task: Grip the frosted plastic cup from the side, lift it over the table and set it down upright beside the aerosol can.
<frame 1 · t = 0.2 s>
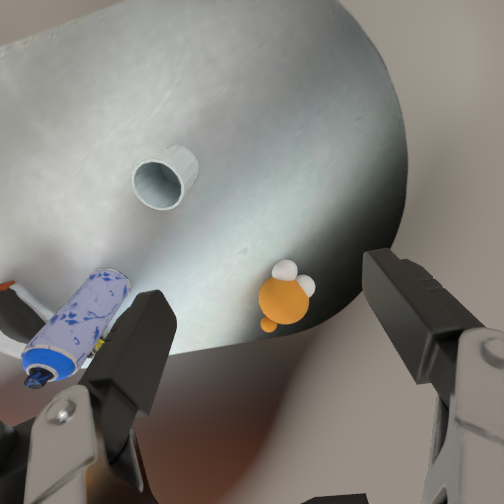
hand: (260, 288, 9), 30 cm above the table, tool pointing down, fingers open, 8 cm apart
toy car: (90, 344, 57), on the table
toy: (275, 284, 48), on the table
plastic cup: (179, 166, 35), on the table
figurine: (35, 306, 50), on the table
aerosol can: (111, 283, 47), on the table
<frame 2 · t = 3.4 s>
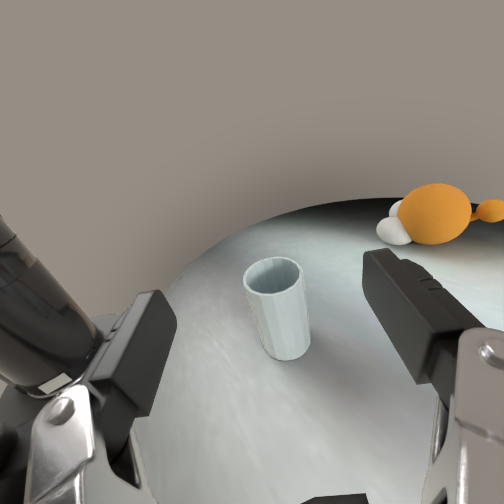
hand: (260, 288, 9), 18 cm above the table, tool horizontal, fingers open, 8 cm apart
toy: (430, 243, 37), on the table
plastic cup: (286, 338, 28), on the table
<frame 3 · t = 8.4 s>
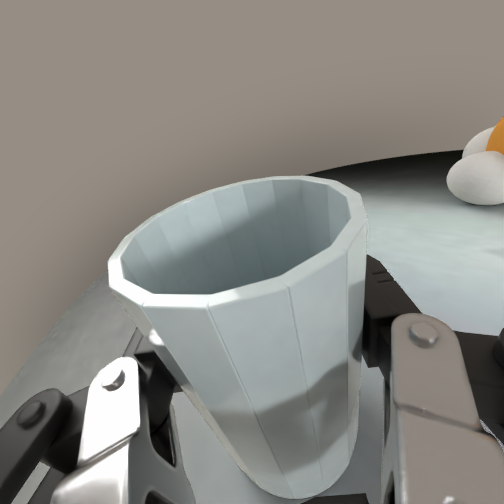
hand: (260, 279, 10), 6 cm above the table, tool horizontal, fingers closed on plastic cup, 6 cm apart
plastic cup: (288, 410, 11), on the table, touching gripper
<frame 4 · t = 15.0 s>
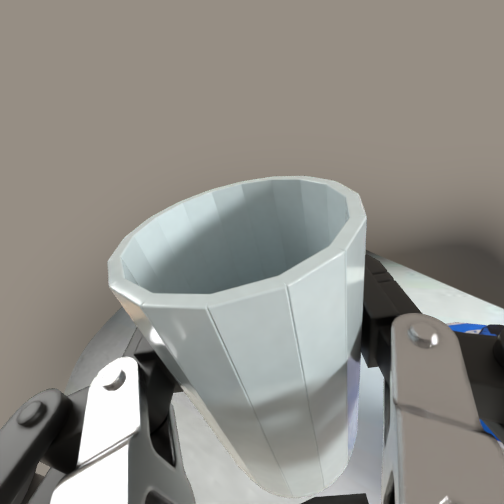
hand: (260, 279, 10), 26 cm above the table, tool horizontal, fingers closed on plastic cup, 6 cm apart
plastic cup: (288, 410, 11), point 20 cm above the table, touching gripper
aerosol can: (430, 470, 22), on the table
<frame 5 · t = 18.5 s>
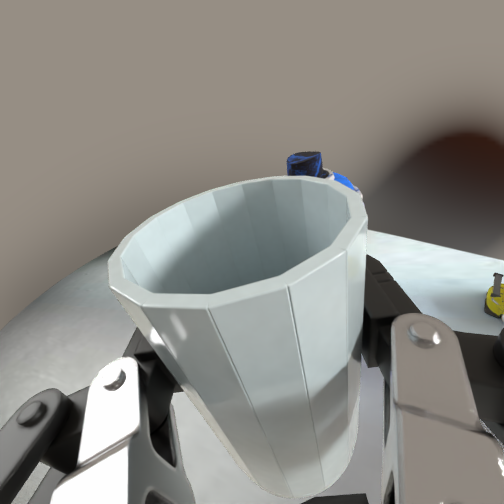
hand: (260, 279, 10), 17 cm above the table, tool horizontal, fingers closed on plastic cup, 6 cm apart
plastic cup: (288, 410, 11), point 11 cm above the table, touching gripper
aerosol can: (321, 344, 26), on the table
when the fingers open (6 cm above the table, at t = 21.6 s): plastic cup stays where it is, on the table.
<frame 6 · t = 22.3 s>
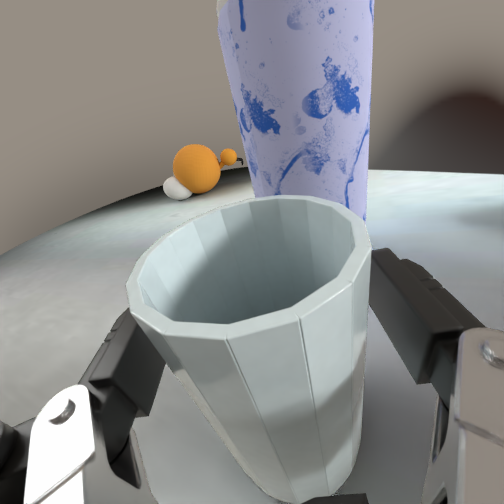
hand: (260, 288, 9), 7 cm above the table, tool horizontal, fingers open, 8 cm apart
toy: (207, 192, 47), on the table
plastic cup: (292, 417, 11), on the table
aerosol can: (315, 268, 20), on the table
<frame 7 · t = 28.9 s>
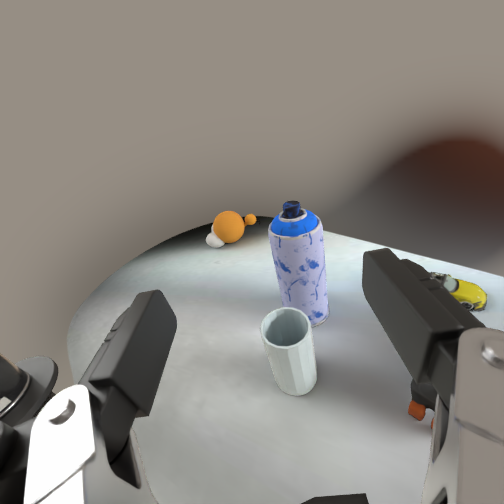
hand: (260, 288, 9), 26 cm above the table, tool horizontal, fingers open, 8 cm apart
toy car: (443, 293, 38), on the table
toy: (235, 241, 68), on the table
plastic cup: (295, 373, 32), on the table
figurine: (445, 374, 29), on the table
aerosol can: (306, 310, 41), on the table
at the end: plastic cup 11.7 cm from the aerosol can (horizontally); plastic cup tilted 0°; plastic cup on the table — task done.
